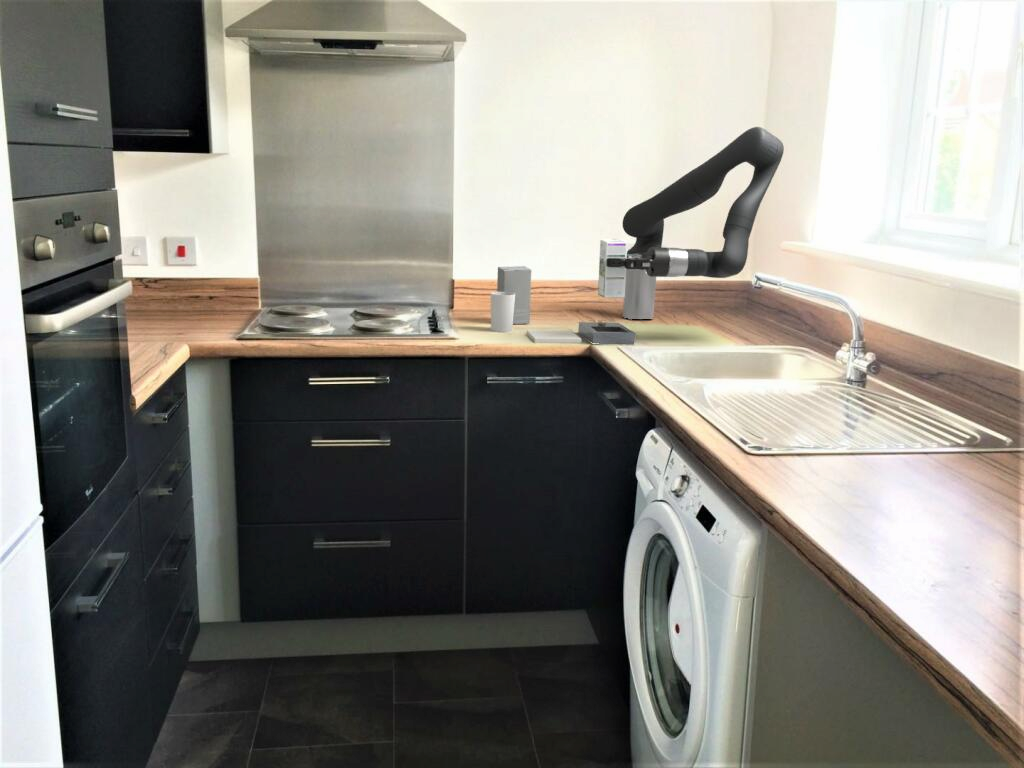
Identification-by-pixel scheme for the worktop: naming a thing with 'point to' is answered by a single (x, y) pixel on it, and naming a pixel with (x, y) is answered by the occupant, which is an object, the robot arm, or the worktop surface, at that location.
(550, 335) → the off-white mat
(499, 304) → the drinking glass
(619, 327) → the dark grey tray
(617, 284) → the syrup box
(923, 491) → the worktop surface
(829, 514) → the worktop surface
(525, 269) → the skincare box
